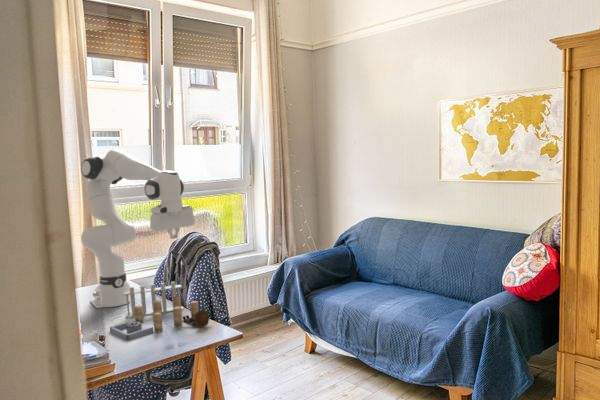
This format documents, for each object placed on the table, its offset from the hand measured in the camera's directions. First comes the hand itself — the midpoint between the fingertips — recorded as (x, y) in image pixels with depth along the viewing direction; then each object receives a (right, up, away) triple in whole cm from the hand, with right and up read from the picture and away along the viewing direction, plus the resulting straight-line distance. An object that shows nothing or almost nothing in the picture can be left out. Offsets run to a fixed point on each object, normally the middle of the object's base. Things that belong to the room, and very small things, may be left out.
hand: (174, 238), depth 213 cm
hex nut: (-11, -36, -19) cm, 42 cm away
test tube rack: (-10, -34, +4) cm, 36 cm away
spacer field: (-1, -35, -8) cm, 35 cm away
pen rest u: (-12, -36, -19) cm, 43 cm away
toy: (+12, -35, -13) cm, 39 cm away
